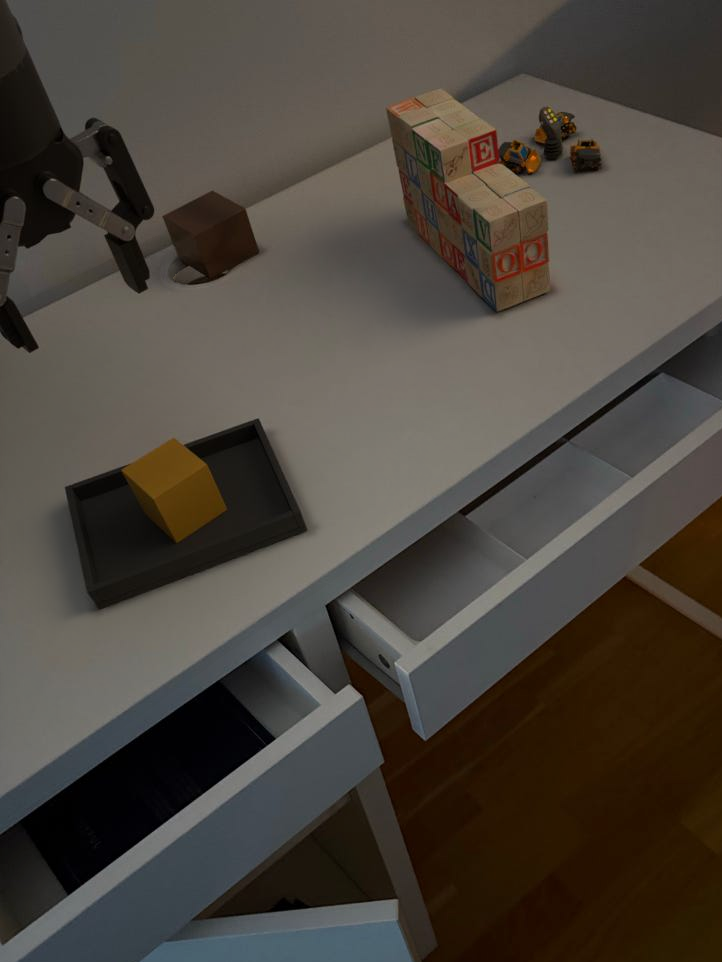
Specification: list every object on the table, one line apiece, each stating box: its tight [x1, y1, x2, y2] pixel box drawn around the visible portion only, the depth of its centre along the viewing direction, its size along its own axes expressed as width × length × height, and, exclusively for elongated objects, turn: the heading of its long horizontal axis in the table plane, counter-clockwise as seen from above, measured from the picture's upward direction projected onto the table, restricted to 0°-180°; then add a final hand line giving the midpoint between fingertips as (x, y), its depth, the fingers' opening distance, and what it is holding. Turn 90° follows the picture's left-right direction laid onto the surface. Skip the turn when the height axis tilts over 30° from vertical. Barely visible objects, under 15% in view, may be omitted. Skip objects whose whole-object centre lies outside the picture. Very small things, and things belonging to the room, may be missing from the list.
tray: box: [64, 417, 308, 610], centre depth 77 cm, size 17×13×2 cm
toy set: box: [498, 106, 602, 174], centre depth 105 cm, size 12×11×5 cm
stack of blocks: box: [385, 88, 551, 313], centre depth 92 cm, size 21×6×12 cm, turn 27°
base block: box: [162, 190, 260, 280], centre depth 101 cm, size 6×6×5 cm
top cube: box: [121, 437, 227, 543], centre depth 75 cm, size 5×5×5 cm
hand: (84, 316), depth 64 cm, fingers open, 8 cm apart
